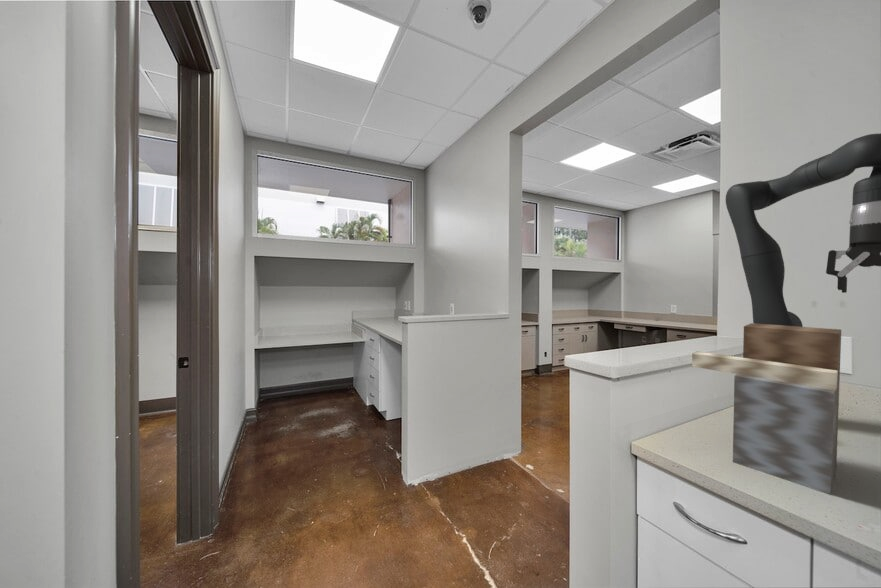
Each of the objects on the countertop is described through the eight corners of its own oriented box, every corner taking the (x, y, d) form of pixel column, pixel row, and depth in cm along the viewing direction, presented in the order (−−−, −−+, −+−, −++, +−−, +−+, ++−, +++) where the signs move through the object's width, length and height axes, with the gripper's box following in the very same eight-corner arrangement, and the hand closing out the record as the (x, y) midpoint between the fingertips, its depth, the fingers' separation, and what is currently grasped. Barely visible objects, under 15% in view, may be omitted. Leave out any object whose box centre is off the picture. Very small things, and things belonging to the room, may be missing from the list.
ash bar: (692, 366, 85) (692, 353, 85) (696, 364, 87) (696, 351, 87) (835, 390, 66) (836, 373, 65) (837, 386, 68) (837, 370, 68)
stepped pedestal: (732, 461, 77) (735, 329, 76) (748, 440, 87) (751, 323, 85) (830, 494, 65) (835, 338, 64) (836, 466, 75) (841, 329, 73)
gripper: (930, 219, 71) (927, 292, 72) (829, 228, 82) (827, 291, 83) (934, 215, 66) (930, 294, 67) (826, 226, 78) (824, 292, 79)
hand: (873, 292), depth 75 cm, fingers open, 8 cm apart
